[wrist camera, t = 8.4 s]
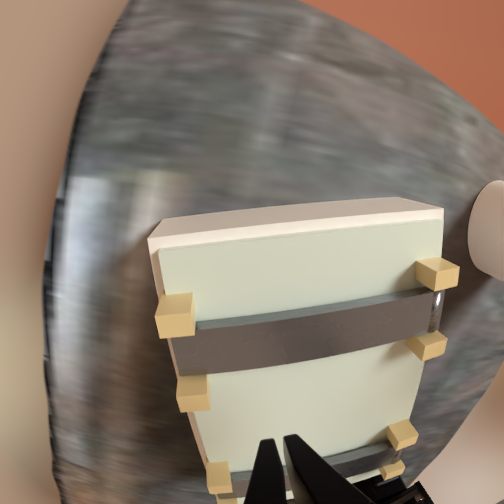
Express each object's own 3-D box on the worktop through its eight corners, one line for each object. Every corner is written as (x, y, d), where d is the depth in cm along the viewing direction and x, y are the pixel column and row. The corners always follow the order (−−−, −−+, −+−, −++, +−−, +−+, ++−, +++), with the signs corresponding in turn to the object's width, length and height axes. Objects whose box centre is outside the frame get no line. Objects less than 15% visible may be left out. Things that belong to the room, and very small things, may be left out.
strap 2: (402, 434, 18) (407, 443, 17) (395, 453, 19) (400, 461, 18) (212, 473, 17) (213, 484, 16) (218, 489, 18) (219, 500, 17)
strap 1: (435, 283, 15) (446, 289, 14) (430, 322, 16) (439, 330, 15) (171, 322, 14) (168, 333, 13) (181, 365, 15) (179, 377, 14)
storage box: (371, 431, 26) (403, 486, 19) (215, 462, 24) (221, 530, 17) (396, 196, 20) (475, 217, 12) (163, 219, 18) (134, 255, 11)
